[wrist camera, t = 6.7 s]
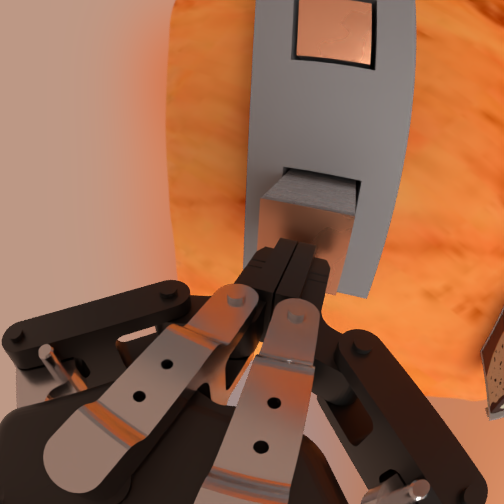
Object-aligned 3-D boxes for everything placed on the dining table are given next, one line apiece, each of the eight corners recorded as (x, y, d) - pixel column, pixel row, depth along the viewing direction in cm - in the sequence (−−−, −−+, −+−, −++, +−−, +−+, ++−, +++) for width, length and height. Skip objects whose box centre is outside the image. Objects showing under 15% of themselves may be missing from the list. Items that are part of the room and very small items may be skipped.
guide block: (289, -5, 16) (258, -44, 9) (397, 8, 13) (412, -31, 7) (273, 225, 27) (243, 269, 20) (366, 245, 25) (366, 298, 18)
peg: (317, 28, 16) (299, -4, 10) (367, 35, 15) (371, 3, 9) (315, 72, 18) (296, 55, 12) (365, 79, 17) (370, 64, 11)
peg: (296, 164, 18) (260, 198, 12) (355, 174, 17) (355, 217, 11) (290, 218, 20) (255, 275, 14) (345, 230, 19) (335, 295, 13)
